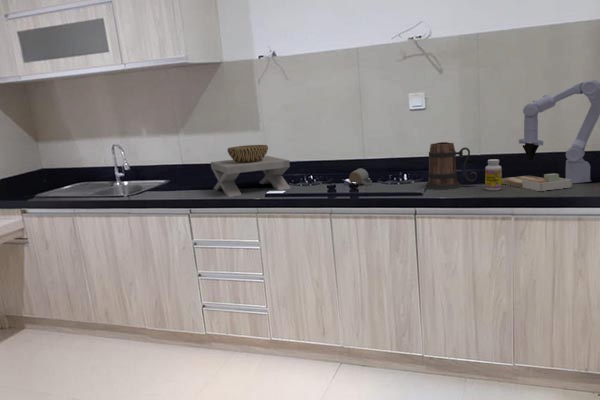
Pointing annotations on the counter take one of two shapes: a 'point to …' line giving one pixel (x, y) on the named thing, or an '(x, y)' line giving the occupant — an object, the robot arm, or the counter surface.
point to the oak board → (518, 180)
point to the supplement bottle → (493, 175)
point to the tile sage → (551, 177)
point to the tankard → (445, 167)
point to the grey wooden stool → (249, 168)
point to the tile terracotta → (539, 180)
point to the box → (547, 185)
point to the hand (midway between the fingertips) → (530, 160)
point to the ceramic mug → (360, 177)
